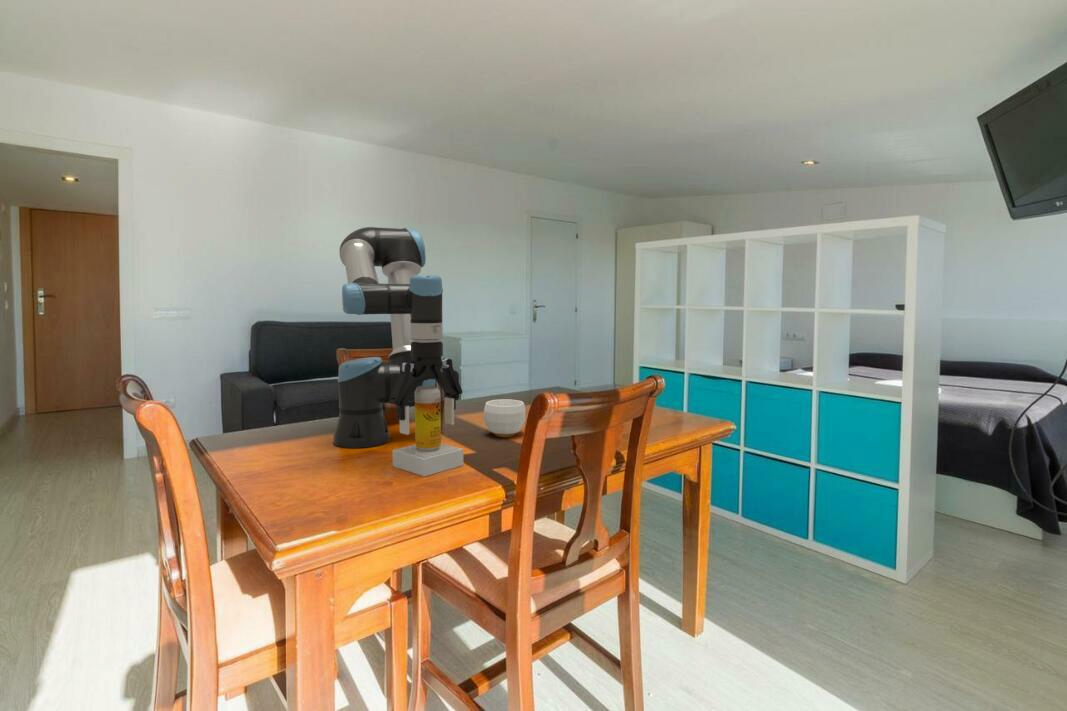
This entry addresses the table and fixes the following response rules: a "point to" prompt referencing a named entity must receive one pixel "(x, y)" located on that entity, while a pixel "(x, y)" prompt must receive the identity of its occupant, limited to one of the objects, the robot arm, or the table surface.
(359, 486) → the table surface
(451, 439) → the table surface
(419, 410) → the yellow labeled bottle
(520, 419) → the cup
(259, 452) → the table surface
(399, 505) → the table surface
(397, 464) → the pedestal
